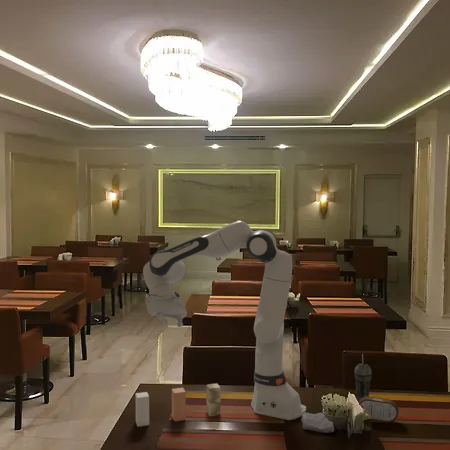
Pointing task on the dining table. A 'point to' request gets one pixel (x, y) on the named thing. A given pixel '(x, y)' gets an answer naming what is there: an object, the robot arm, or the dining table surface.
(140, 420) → the white block
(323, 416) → the stone block
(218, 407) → the birch block
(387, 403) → the tin
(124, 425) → the dining table surface
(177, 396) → the terracotta block
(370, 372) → the beverage cup
